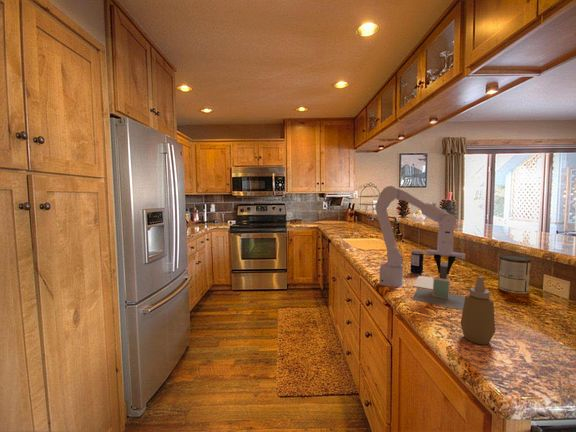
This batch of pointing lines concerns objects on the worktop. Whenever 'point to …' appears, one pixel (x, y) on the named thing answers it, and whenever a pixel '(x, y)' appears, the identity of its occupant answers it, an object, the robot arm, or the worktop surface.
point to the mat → (439, 299)
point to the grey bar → (443, 270)
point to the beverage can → (417, 262)
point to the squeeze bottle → (478, 314)
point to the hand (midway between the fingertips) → (443, 273)
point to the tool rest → (424, 282)
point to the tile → (441, 287)
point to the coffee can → (514, 274)
